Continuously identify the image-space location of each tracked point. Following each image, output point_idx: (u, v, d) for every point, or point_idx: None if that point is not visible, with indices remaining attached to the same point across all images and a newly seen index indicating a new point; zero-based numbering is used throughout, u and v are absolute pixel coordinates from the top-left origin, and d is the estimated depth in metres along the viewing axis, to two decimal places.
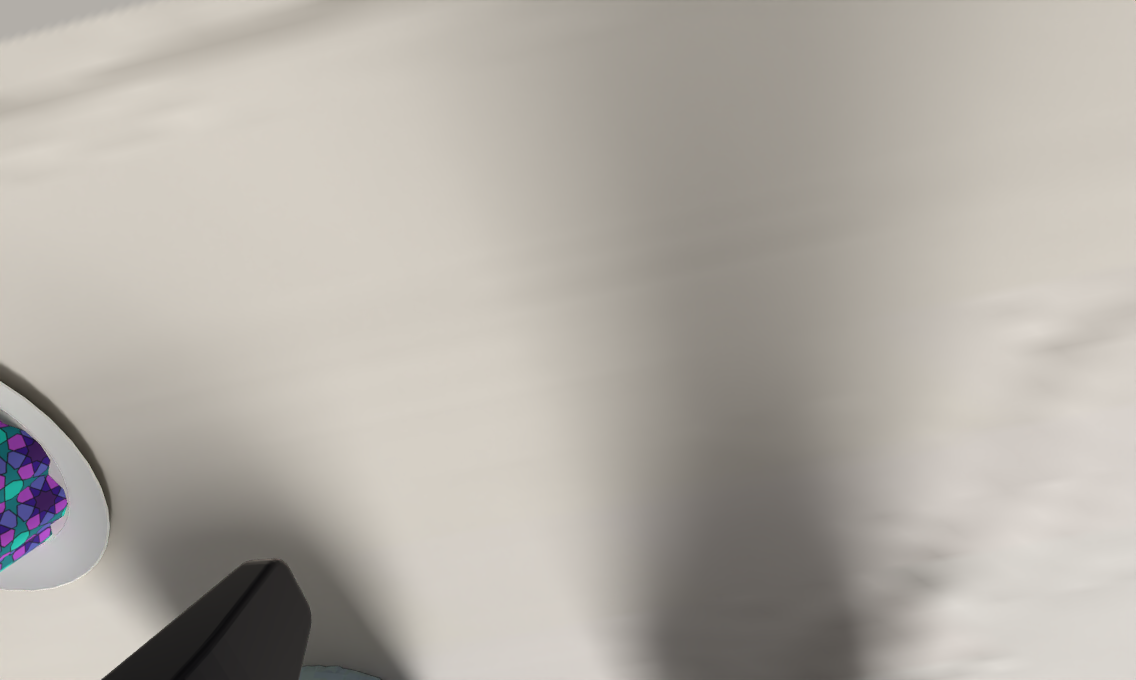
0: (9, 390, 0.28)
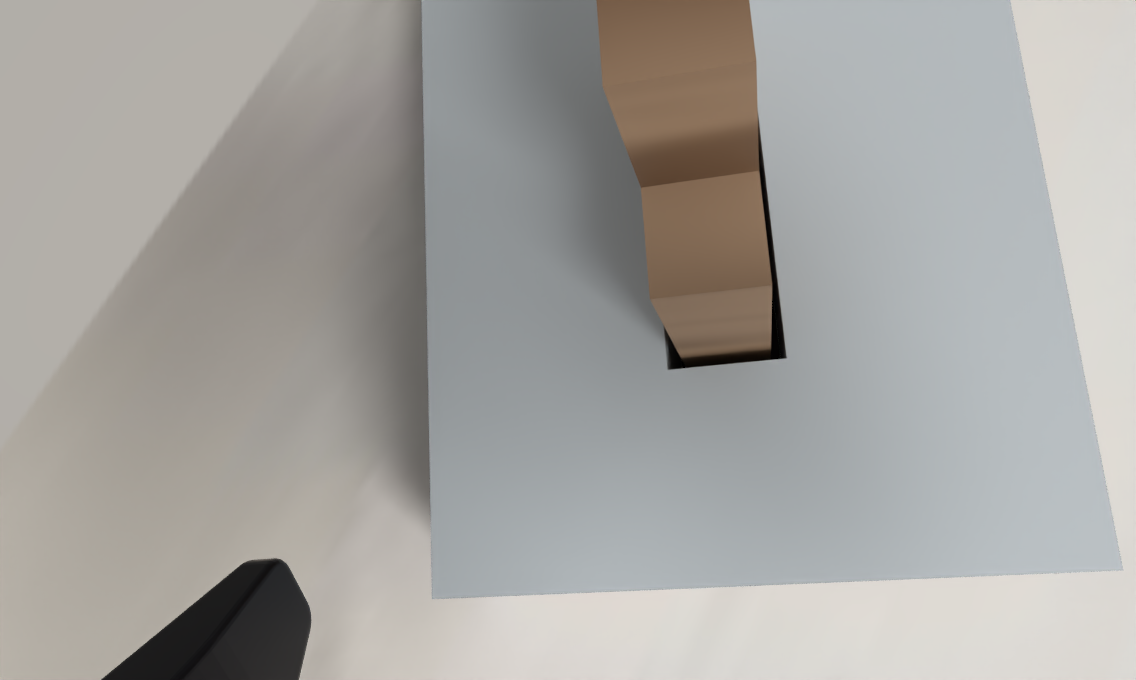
0: None
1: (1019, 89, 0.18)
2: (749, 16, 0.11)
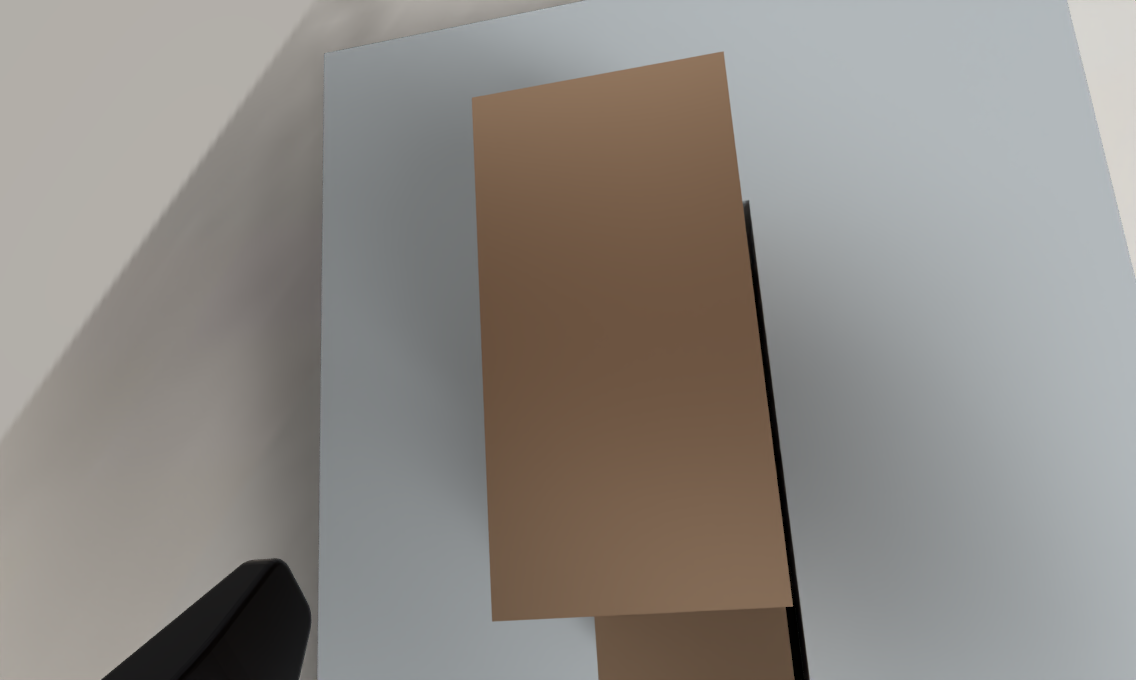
0: None
1: None
2: (777, 503, 0.05)
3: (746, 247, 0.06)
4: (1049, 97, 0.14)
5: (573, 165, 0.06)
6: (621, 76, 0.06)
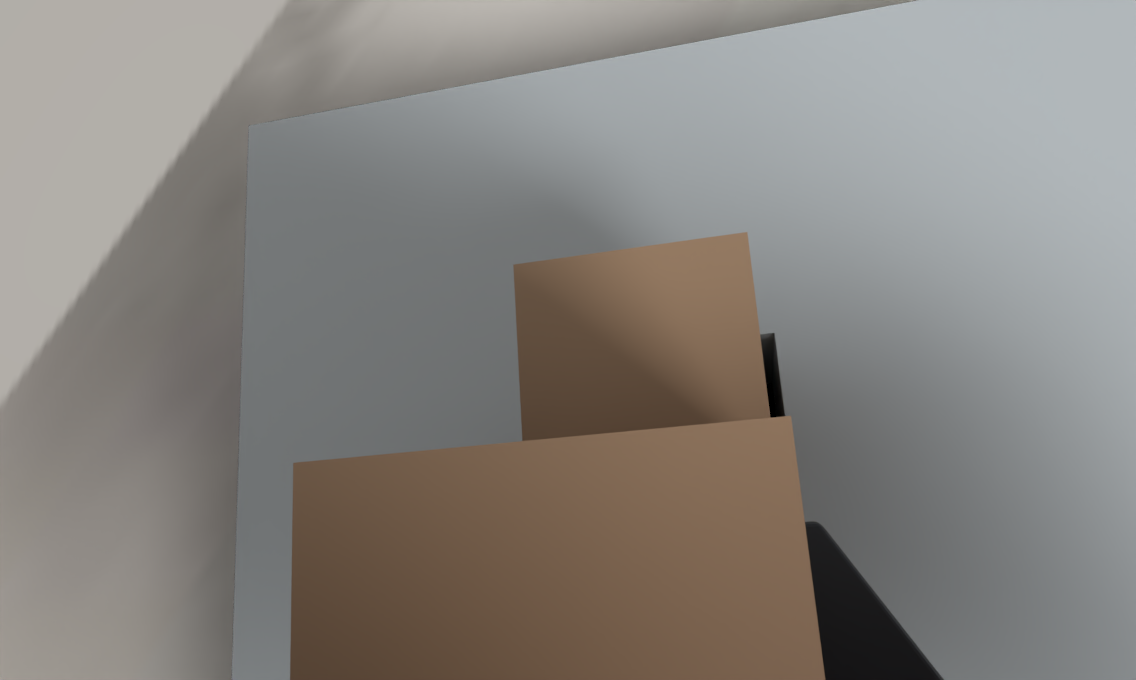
0: None
1: None
2: None
3: None
4: None
5: (481, 641, 0.03)
6: (581, 452, 0.03)
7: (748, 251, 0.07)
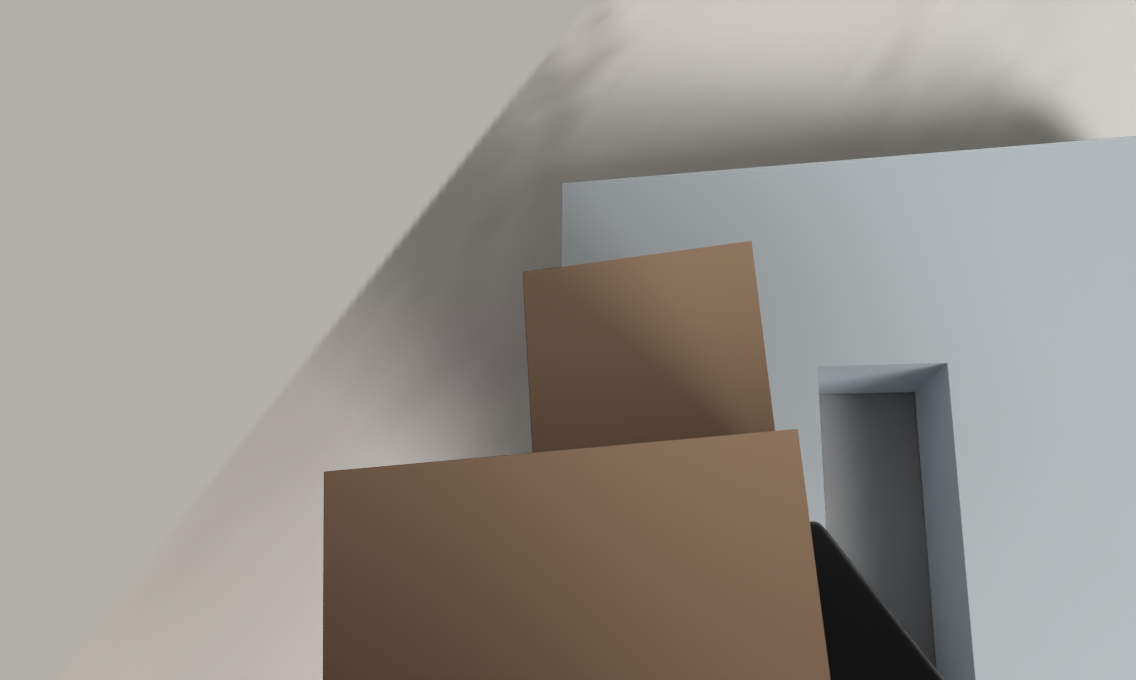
0: None
1: None
2: None
3: None
4: None
5: (504, 641, 0.03)
6: (597, 461, 0.03)
7: (752, 260, 0.07)
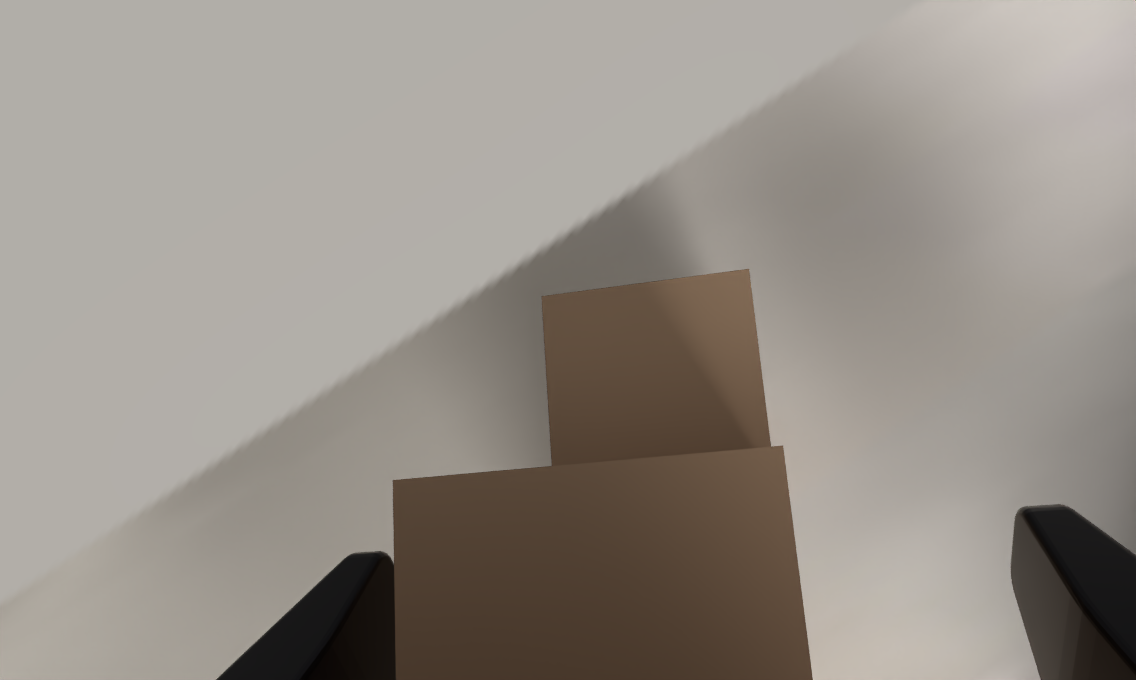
0: None
1: None
2: None
3: None
4: None
5: (546, 618, 0.04)
6: (620, 473, 0.04)
7: (750, 286, 0.08)
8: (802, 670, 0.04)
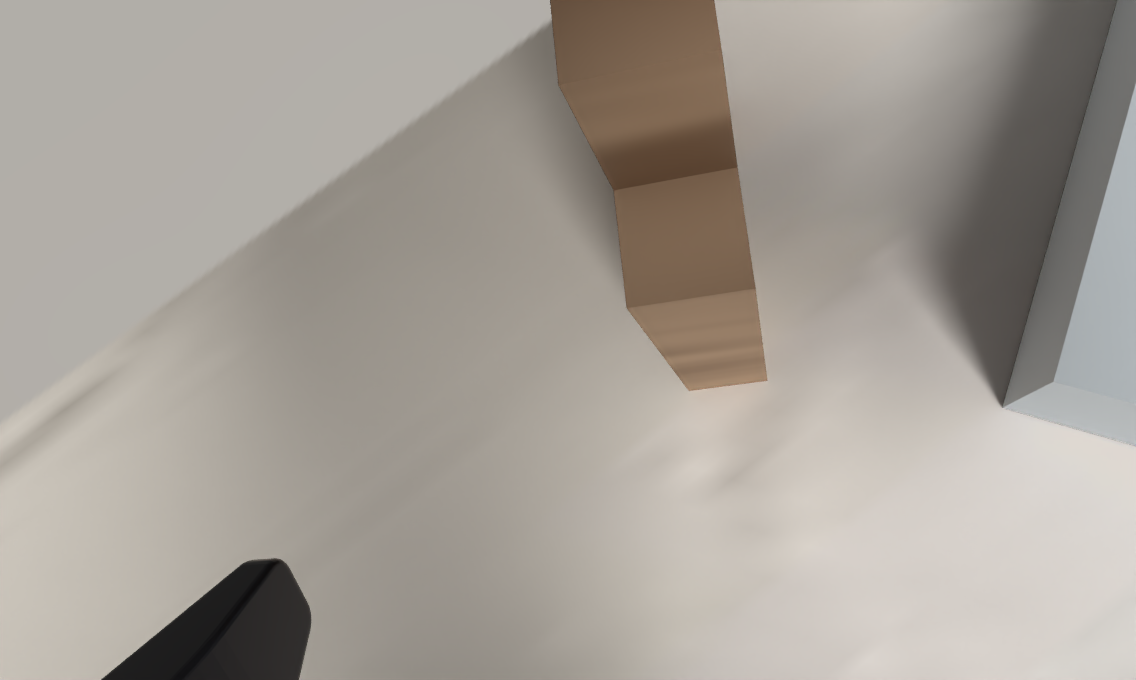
0: None
1: None
2: (712, 2, 0.10)
3: None
4: None
5: None
6: None
7: None
8: None
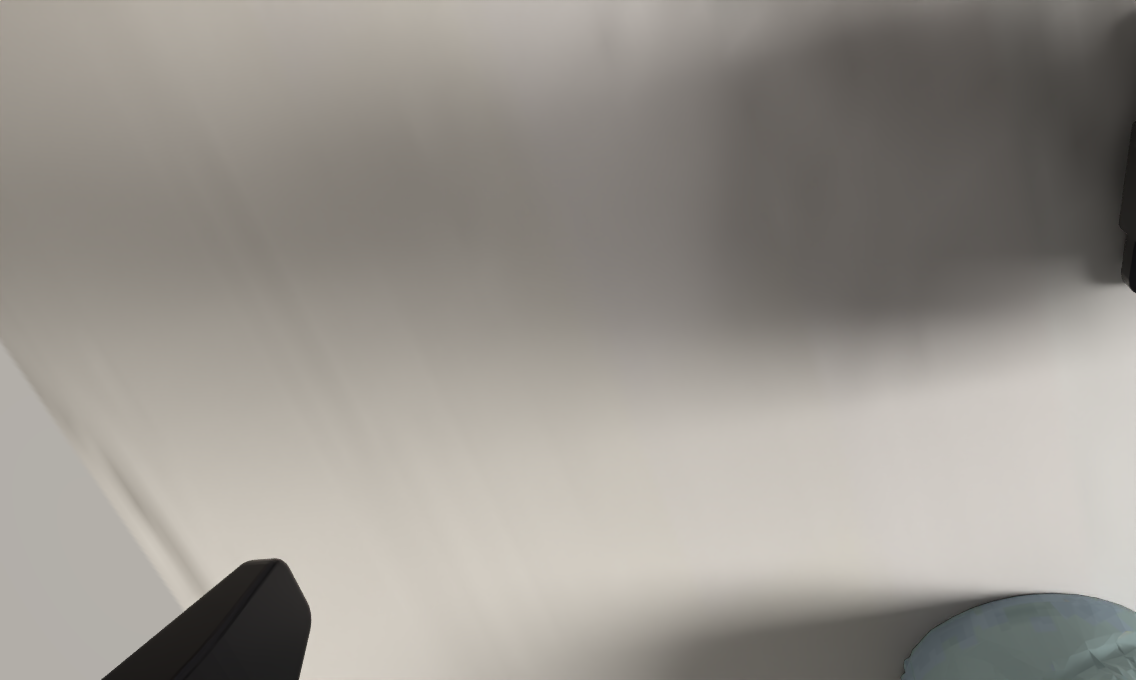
0: None
1: None
2: None
3: None
4: None
5: None
6: None
7: None
8: None
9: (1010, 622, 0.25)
